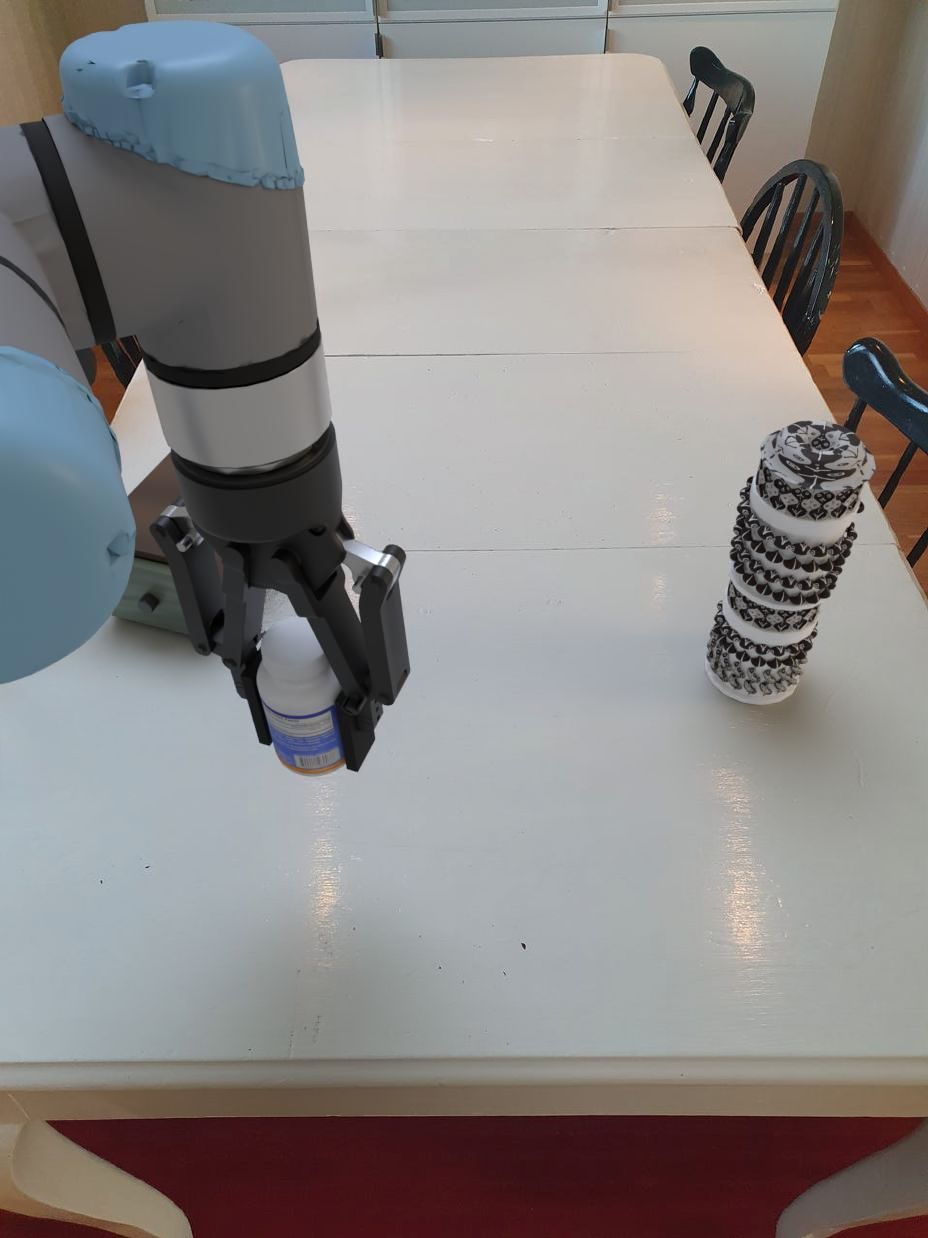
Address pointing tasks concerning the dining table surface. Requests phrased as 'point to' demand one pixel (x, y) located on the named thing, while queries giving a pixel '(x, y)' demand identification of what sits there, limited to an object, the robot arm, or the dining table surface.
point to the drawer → (151, 597)
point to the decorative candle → (786, 557)
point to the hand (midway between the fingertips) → (317, 740)
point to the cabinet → (155, 509)
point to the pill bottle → (300, 699)
